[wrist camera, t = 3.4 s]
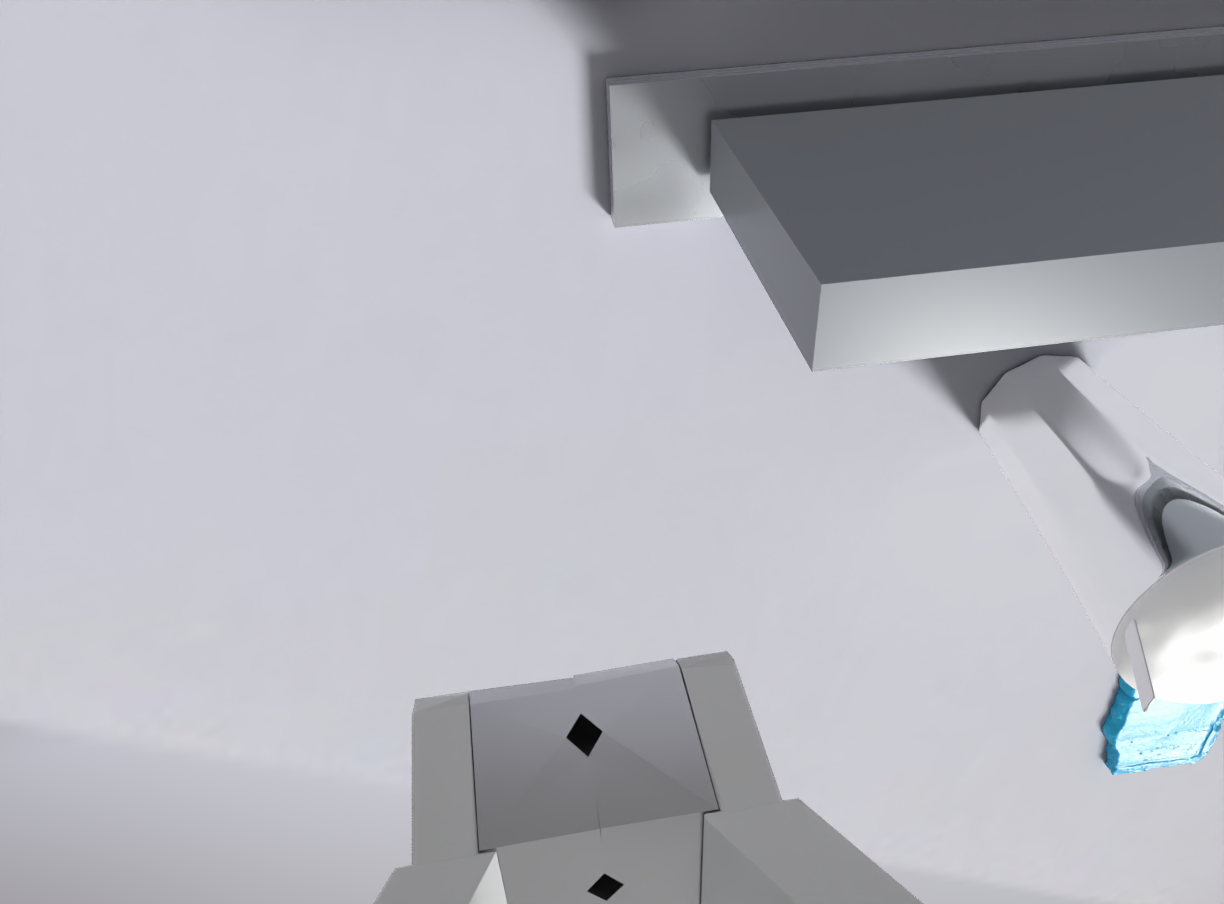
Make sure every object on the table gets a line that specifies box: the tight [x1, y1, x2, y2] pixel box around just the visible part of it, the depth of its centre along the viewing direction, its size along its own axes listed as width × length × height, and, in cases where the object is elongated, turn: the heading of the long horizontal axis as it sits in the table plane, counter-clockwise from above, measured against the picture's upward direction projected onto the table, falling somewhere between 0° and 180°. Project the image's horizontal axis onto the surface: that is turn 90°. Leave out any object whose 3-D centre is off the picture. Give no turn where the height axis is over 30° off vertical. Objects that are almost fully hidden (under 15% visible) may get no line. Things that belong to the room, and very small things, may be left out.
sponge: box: [1102, 676, 1224, 775], centre depth 35 cm, size 2×12×6 cm
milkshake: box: [979, 355, 1224, 712], centre depth 22 cm, size 4×5×10 cm
